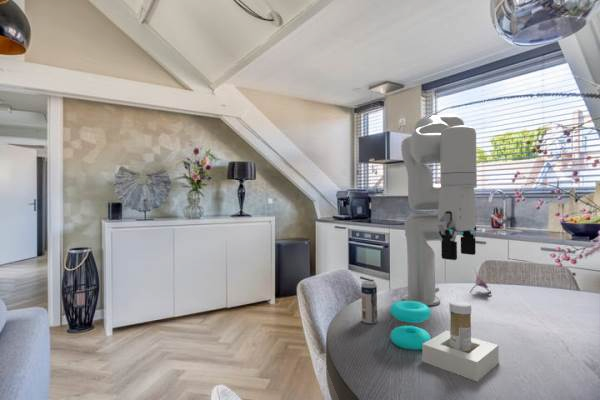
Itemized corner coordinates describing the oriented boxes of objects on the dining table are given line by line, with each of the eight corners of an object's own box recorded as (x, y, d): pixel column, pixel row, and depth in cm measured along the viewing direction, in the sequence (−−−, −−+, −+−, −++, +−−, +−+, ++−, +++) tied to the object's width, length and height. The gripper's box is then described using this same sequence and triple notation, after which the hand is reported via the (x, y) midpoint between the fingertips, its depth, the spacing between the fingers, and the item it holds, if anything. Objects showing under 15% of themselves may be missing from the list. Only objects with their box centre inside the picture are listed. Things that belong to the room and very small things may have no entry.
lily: (484, 302, 126) (497, 280, 126) (455, 284, 134) (467, 263, 134) (491, 305, 135) (504, 284, 134) (463, 288, 143) (475, 268, 142)
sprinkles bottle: (446, 356, 81) (446, 299, 81) (466, 356, 81) (465, 299, 81) (455, 366, 76) (454, 305, 76) (475, 366, 76) (475, 305, 76)
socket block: (446, 346, 87) (446, 330, 87) (498, 362, 78) (498, 345, 78) (422, 361, 79) (422, 344, 79) (477, 381, 70) (477, 362, 70)
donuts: (438, 305, 87) (414, 313, 82) (439, 345, 87) (415, 355, 82) (406, 297, 96) (382, 303, 90) (406, 332, 96) (382, 342, 90)
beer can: (377, 325, 102) (377, 284, 102) (361, 324, 103) (360, 284, 103) (377, 319, 106) (376, 280, 106) (361, 318, 107) (361, 280, 107)
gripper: (458, 183, 87) (459, 250, 87) (423, 181, 75) (424, 259, 75) (490, 181, 81) (491, 254, 81) (458, 179, 70) (459, 263, 70)
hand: (459, 256), depth 78 cm, fingers open, 9 cm apart
